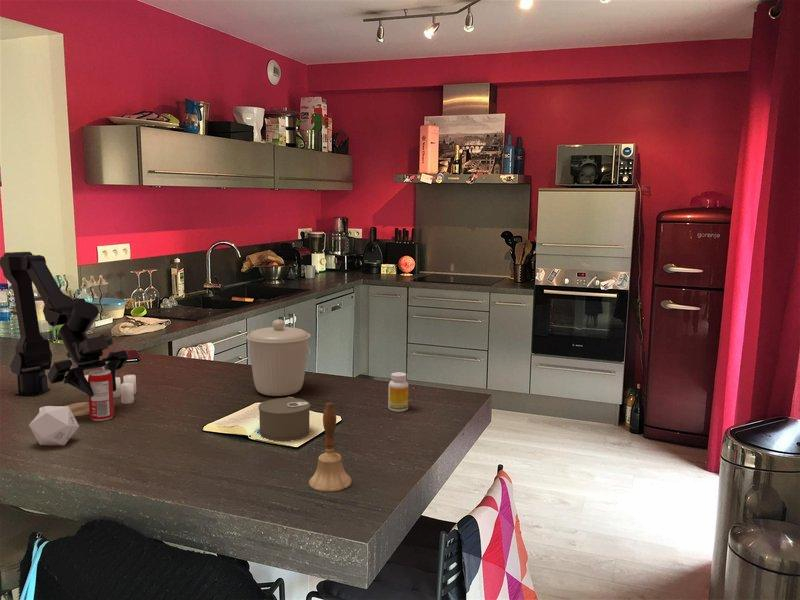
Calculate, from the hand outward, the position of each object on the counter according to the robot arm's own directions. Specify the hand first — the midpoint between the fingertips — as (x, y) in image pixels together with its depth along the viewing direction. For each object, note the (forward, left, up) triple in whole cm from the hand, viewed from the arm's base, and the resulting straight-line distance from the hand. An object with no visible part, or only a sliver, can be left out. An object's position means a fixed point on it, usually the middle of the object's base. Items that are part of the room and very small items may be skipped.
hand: (103, 393), depth 161 cm
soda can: (-1, +1, -7) cm, 7 cm away
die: (-3, -17, -7) cm, 18 cm away
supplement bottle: (+72, +15, -7) cm, 74 cm away
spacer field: (-8, +7, -7) cm, 12 cm away
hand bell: (+61, -33, -7) cm, 70 cm away
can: (+46, -6, -7) cm, 47 cm away
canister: (+37, +28, -7) cm, 47 cm away
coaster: (-10, +6, -7) cm, 13 cm away
